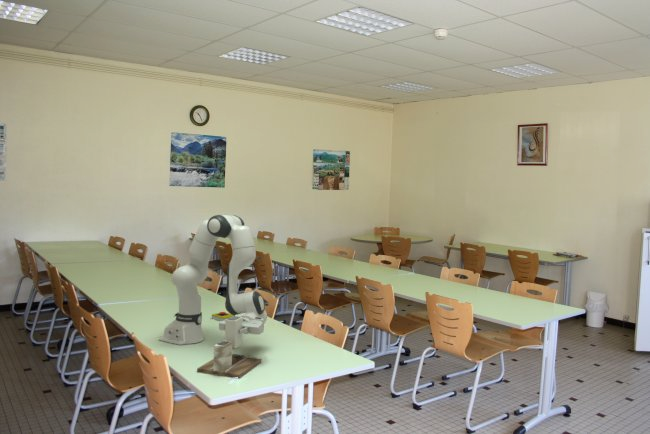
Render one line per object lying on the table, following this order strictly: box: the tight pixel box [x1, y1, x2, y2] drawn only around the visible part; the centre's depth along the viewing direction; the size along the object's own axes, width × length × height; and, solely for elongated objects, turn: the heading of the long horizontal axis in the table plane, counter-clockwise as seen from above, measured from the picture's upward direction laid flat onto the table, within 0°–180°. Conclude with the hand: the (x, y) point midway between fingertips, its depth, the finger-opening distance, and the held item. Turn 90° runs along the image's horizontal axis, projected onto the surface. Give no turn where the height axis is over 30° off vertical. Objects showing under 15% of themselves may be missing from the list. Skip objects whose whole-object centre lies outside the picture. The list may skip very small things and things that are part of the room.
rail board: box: [196, 339, 263, 379], centre depth 237 cm, size 20×22×13 cm
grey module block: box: [224, 315, 244, 349], centre depth 238 cm, size 5×7×12 cm
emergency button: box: [209, 311, 236, 322], centre depth 319 cm, size 9×4×15 cm
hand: (233, 331), depth 238 cm, fingers closed on grey module block, 5 cm apart
